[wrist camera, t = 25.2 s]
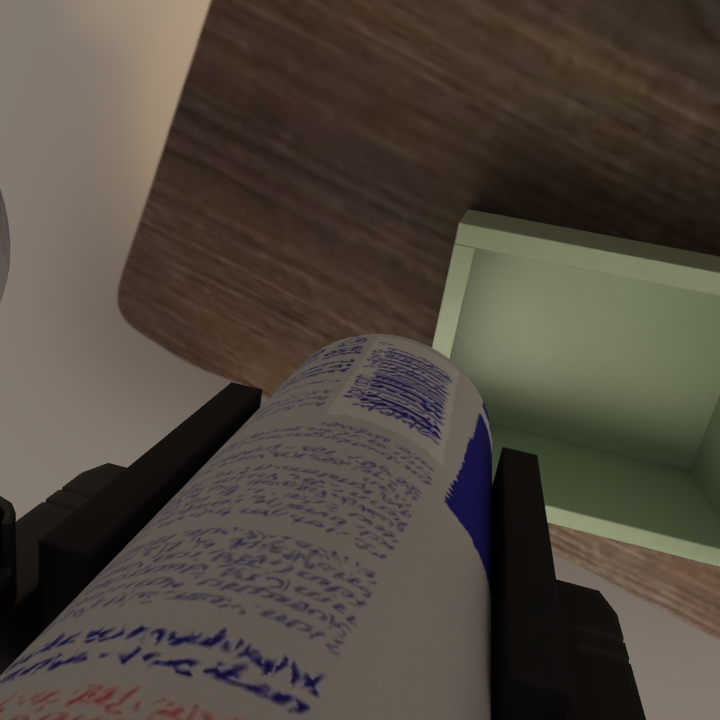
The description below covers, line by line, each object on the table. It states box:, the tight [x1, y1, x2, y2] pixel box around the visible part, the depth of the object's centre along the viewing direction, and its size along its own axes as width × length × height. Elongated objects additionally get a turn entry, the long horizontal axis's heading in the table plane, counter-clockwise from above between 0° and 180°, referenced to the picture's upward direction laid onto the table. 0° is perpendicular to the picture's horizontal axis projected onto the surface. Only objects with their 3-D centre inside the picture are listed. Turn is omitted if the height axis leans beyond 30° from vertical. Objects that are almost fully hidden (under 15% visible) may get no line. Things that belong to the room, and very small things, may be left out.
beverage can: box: [0, 334, 492, 720], centre depth 9 cm, size 6×6×15 cm
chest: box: [432, 209, 720, 567], centre depth 34 cm, size 18×14×10 cm
